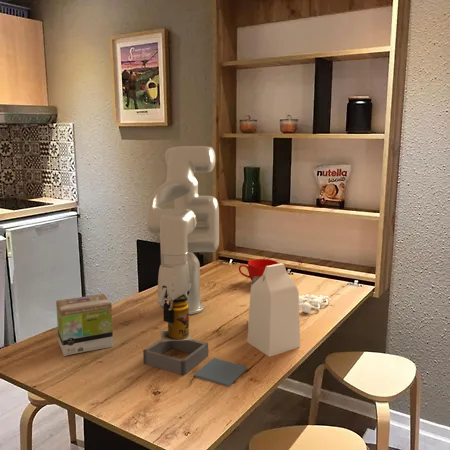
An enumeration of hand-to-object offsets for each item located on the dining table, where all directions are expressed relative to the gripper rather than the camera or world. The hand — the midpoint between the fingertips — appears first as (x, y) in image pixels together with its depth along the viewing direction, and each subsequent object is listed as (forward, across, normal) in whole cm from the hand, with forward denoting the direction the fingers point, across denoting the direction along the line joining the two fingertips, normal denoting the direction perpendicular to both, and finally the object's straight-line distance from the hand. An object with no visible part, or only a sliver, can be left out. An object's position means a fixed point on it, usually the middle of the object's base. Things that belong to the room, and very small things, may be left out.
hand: (175, 317), depth 140 cm
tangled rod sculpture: (+15, -60, +19) cm, 64 cm away
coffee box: (+14, -34, +12) cm, 39 cm away
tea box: (+14, +7, -30) cm, 33 cm away
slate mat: (+13, +1, +16) cm, 20 cm away
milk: (+14, -22, +22) cm, 34 cm away
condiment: (+6, +1, 0) cm, 6 cm away
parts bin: (+13, +1, 0) cm, 13 cm away
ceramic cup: (+15, -71, -6) cm, 73 cm away
